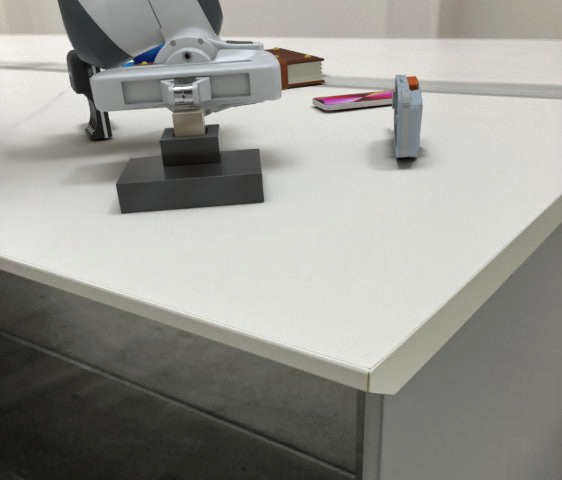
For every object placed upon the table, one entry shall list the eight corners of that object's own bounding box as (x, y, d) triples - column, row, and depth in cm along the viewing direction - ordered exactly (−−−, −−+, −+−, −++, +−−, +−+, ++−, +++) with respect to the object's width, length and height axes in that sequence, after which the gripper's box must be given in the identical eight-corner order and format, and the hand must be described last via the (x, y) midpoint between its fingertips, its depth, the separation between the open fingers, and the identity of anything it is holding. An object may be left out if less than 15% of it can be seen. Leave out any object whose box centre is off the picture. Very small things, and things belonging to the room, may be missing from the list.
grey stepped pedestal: (121, 213, 66) (110, 156, 63) (135, 182, 76) (126, 130, 73) (264, 202, 66) (259, 144, 64) (261, 172, 76) (257, 120, 73)
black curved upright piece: (79, 134, 100) (62, 48, 94) (105, 130, 101) (89, 45, 95) (86, 143, 94) (67, 52, 88) (113, 139, 95) (97, 49, 90)
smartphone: (418, 96, 104) (325, 105, 101) (418, 102, 104) (325, 112, 101) (399, 89, 110) (310, 98, 107) (398, 95, 110) (310, 104, 107)
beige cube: (175, 140, 69) (171, 114, 68) (177, 134, 72) (174, 108, 71) (204, 138, 69) (201, 111, 68) (205, 131, 72) (203, 106, 71)
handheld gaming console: (391, 138, 86) (392, 69, 82) (414, 137, 85) (417, 68, 81) (394, 169, 74) (396, 90, 69) (422, 168, 73) (425, 89, 69)
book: (325, 84, 124) (324, 54, 122) (155, 105, 116) (151, 74, 114) (282, 70, 143) (280, 44, 140) (133, 88, 135) (128, 60, 132)
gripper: (97, 52, 78) (72, 69, 66) (275, 40, 78) (282, 54, 66) (107, 111, 81) (85, 136, 69) (279, 99, 81) (285, 122, 70)
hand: (183, 96), depth 68 cm, fingers closed
